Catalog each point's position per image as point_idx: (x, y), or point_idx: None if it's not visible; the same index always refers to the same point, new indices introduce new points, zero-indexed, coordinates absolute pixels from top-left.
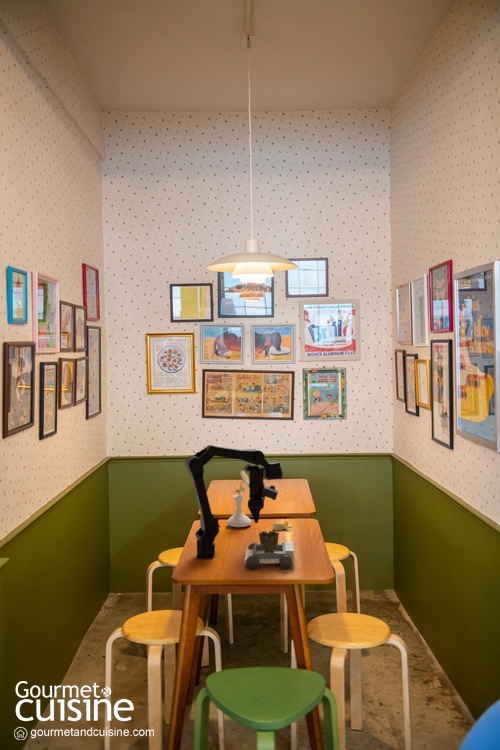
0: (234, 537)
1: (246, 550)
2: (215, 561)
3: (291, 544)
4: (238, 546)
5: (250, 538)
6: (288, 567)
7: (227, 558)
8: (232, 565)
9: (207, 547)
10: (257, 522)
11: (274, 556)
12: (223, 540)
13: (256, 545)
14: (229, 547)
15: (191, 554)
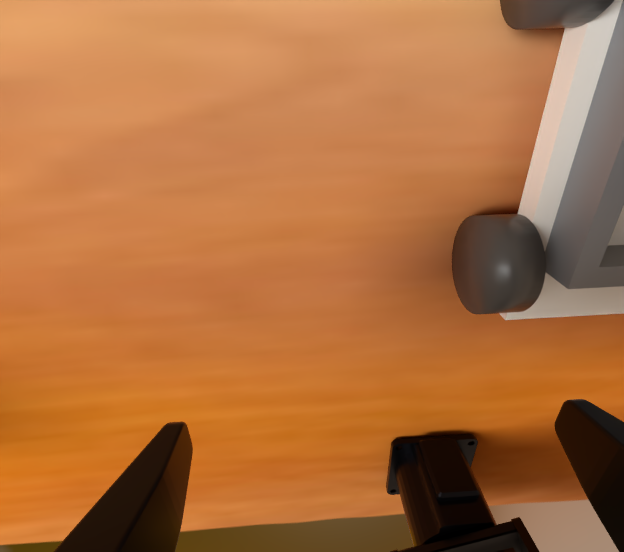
0: (45, 395)
1: (541, 315)
2: (519, 417)
3: None
4: (247, 354)
5: (31, 305)
6: None
7: (484, 378)
8: (618, 342)
9: (487, 505)
10: (588, 410)
11: None
12: (132, 435)
13: (597, 266)
14: (272, 393)
15: (388, 504)
